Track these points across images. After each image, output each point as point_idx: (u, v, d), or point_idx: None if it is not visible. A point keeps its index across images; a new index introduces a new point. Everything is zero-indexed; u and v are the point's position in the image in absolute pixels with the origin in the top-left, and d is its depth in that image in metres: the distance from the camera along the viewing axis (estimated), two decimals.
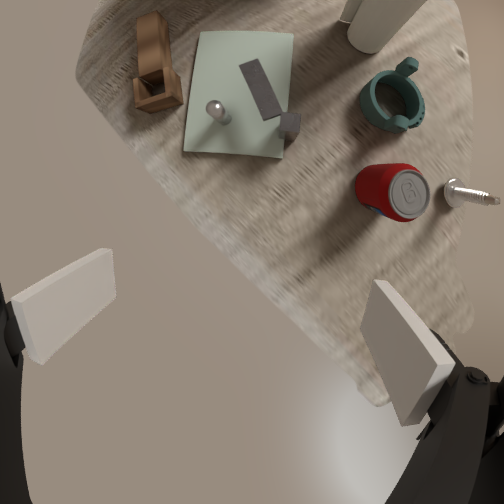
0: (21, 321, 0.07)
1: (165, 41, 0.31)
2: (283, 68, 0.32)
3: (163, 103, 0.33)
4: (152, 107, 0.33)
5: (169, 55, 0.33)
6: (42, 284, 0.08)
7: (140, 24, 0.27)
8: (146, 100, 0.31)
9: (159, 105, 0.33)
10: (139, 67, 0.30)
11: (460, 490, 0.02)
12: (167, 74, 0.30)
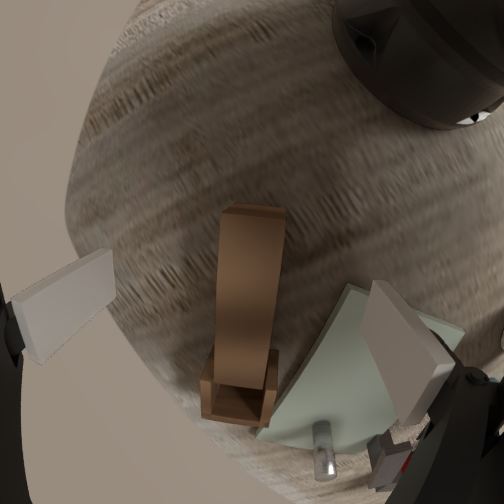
0: (21, 321, 0.07)
1: None
2: None
3: None
4: None
5: None
6: (42, 284, 0.08)
7: (230, 248, 0.15)
8: (223, 418, 0.19)
9: None
10: (216, 367, 0.18)
11: (460, 490, 0.02)
12: (271, 402, 0.18)
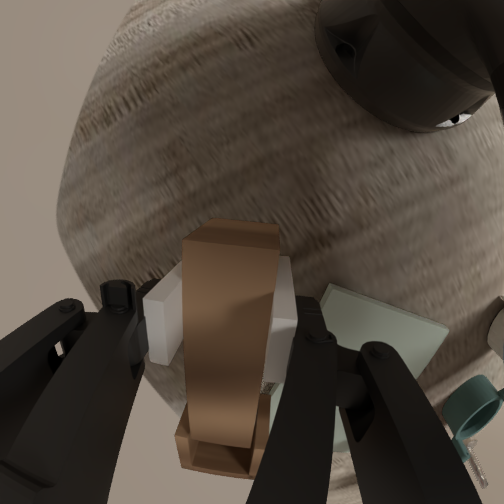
0: (154, 321, 0.09)
1: None
2: None
3: None
4: None
5: None
6: (169, 282, 0.10)
7: (198, 290, 0.10)
8: (206, 470, 0.14)
9: None
10: (191, 424, 0.13)
11: (315, 456, 0.04)
12: None
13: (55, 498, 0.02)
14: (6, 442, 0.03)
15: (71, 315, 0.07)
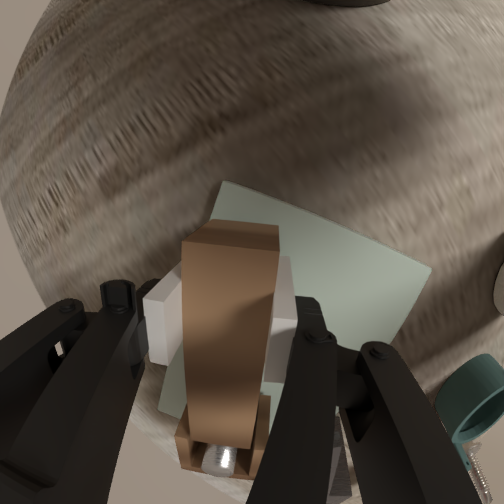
0: (154, 322, 0.09)
1: None
2: None
3: None
4: None
5: None
6: (169, 282, 0.10)
7: (198, 291, 0.10)
8: None
9: None
10: (191, 425, 0.13)
11: (315, 455, 0.04)
12: None
13: (55, 498, 0.02)
14: (6, 442, 0.03)
15: (71, 315, 0.07)
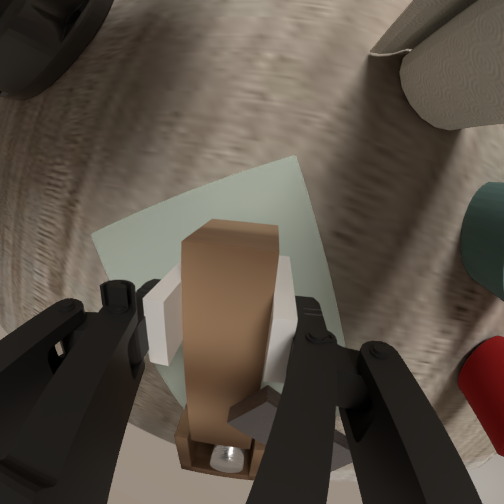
0: (154, 321, 0.09)
1: None
2: (309, 270, 0.16)
3: None
4: None
5: None
6: (169, 282, 0.10)
7: (198, 291, 0.10)
8: (206, 471, 0.14)
9: None
10: (191, 425, 0.13)
11: (315, 456, 0.04)
12: None
13: (55, 498, 0.02)
14: (6, 442, 0.03)
15: (71, 315, 0.07)
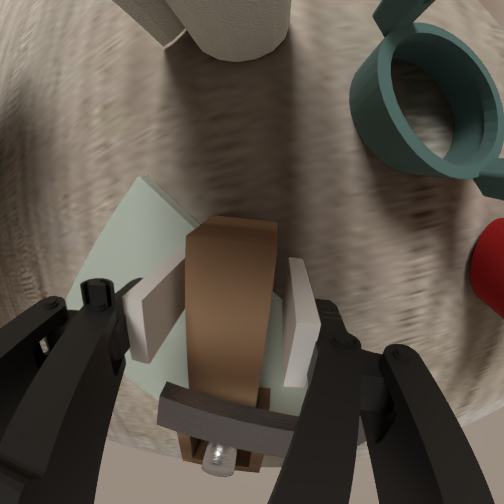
0: (134, 320, 0.08)
1: None
2: None
3: None
4: None
5: None
6: (150, 281, 0.10)
7: (201, 283, 0.11)
8: None
9: None
10: None
11: (338, 460, 0.03)
12: None
13: (43, 491, 0.02)
14: None
15: (54, 312, 0.07)
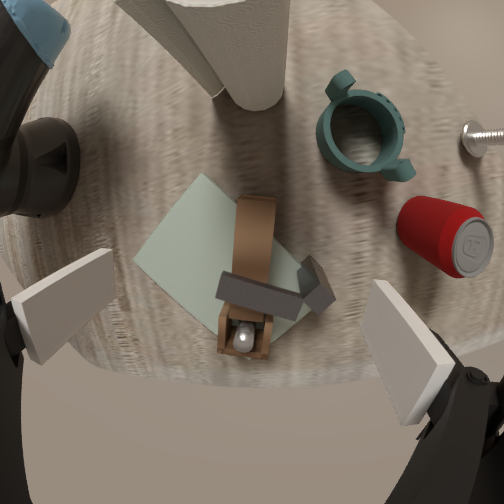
0: (21, 321, 0.07)
1: None
2: None
3: None
4: None
5: None
6: (42, 284, 0.08)
7: (243, 220, 0.25)
8: (233, 351, 0.29)
9: None
10: (230, 304, 0.27)
11: (459, 491, 0.02)
12: (269, 333, 0.28)
13: None
14: None
15: None
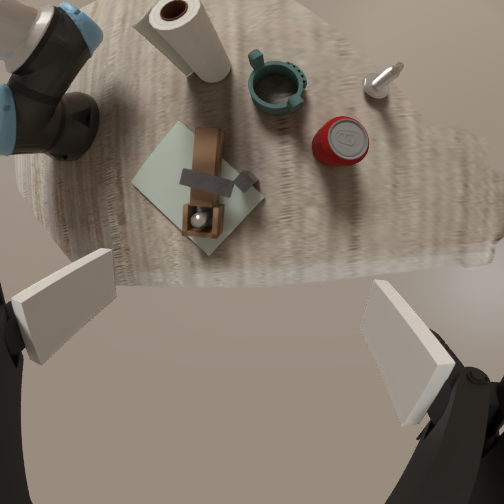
0: (21, 321, 0.07)
1: (219, 164, 0.42)
2: None
3: None
4: None
5: None
6: (42, 284, 0.08)
7: (198, 139, 0.38)
8: (193, 233, 0.42)
9: None
10: (191, 195, 0.40)
11: (460, 490, 0.02)
12: (216, 216, 0.41)
13: None
14: None
15: None
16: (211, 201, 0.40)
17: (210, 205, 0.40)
